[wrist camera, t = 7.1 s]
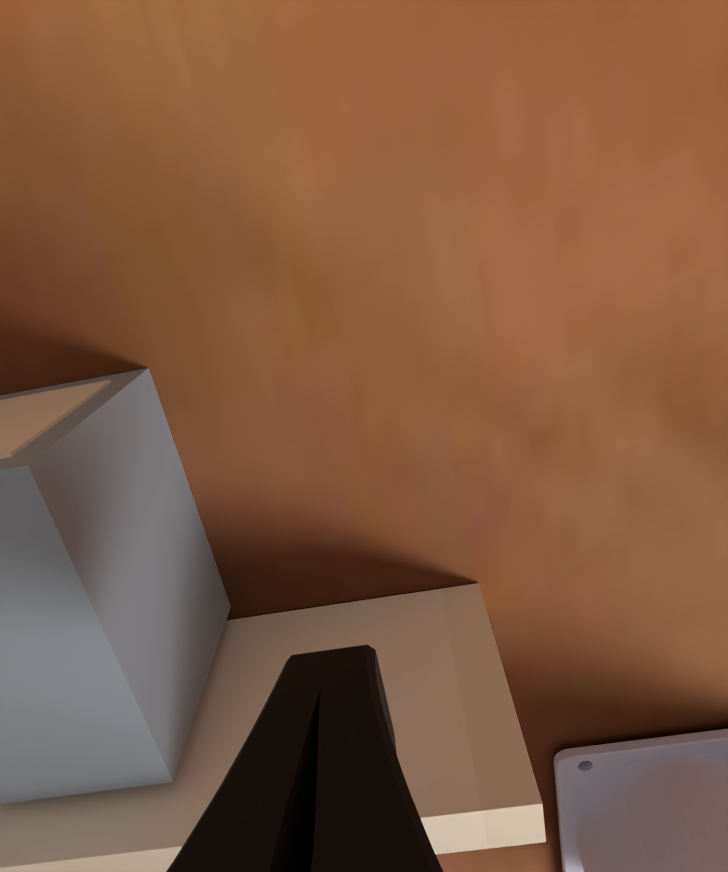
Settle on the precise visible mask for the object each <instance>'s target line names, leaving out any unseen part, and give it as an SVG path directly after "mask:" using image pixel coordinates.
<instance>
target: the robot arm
mask: <svg viewBox="0 0 728 872" xmlns="http://www.w3.org/2000/svg"><path fill="white" fill-rule="evenodd" d="M554 771H555V784H556V796H557V809H558V821H559V834H560V846H561V859H562V871H563V872H728V729H721V730H713V731H705V732H697V733H689V734H681V735H673V736H665V737H657V738H649V739H641V740H633V741H625V742H617V743H609V744H601V745H593V746H585V747H577V748H569V749H564V750H561V751H560V752H558V753H557V754H556V755H555V757H554ZM166 872H443V870H442V868H441V866H440V864H439V861H438V859H437V857H436V855H435V852H434V850H433V848H432V845H431V843H430V841H429V838H428V836H427V834H426V831H425V829H424V826H423V824H422V821H421V819H420V816H419V814H418V811H417V809H416V806H415V804H414V801H413V799H412V796H411V794H410V791H409V788H408V785H407V783H406V780H405V777H404V775H403V772H402V769H401V766H400V763H399V760H398V757H397V752H396V743H395V734H394V729H393V725H392V720H391V716H390V711H389V707H388V703H387V698H386V694H385V689H384V685H383V680H382V676H381V672H380V667H379V663H378V658H377V654H376V650H375V649H374V648H372V647H371V646H369V645H360V646H353V647H346V648H339V649H331V650H324V651H317V652H310V653H303V654H295V655H291V656H290V658H289V659H288V660H287V661H286V663H285V665H284V667H283V669H282V671H281V673H280V675H279V677H278V679H277V681H276V683H275V685H274V687H273V689H272V691H271V693H270V695H269V697H268V699H267V701H266V703H265V705H264V707H263V709H262V711H261V713H260V715H259V717H258V719H257V720H256V722H255V724H254V726H253V728H252V730H251V732H250V734H249V736H248V737H247V739H246V741H245V743H244V744H243V746H242V748H241V750H240V752H239V753H238V755H237V757H236V759H235V760H234V762H233V764H232V766H231V767H230V769H229V771H228V773H227V775H226V776H225V778H224V780H223V782H222V783H221V785H220V787H219V788H218V790H217V792H216V794H215V795H214V797H213V799H212V800H211V802H210V803H209V805H208V807H207V808H206V810H205V811H204V813H203V815H202V816H201V818H200V819H199V821H198V823H197V824H196V826H195V827H194V829H193V831H192V832H191V834H190V835H189V837H188V839H187V840H186V842H185V843H184V845H183V847H182V848H181V850H180V851H179V853H178V855H177V856H176V858H175V859H174V861H173V862H172V864H171V865H170V867H169V868H168V870H167V871H166Z"/></svg>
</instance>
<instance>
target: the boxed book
mask: <svg viewBox="0 0 728 872" xmlns="http://www.w3.org/2000/svg"><path fill="white" fill-rule="evenodd" d="M230 608H231V606H230V603H229V600H228V597H227V594H226V591H225V588H224V585H223V583H222V580H221V577H220V574H219V571H218V568H217V565H216V562H215V559H214V556H213V553H212V551H211V548H210V545H209V542H208V539H207V536H206V533H205V530H204V527H203V524H202V521H201V519H200V516H199V513H198V510H197V507H196V504H195V501H194V498H193V495H192V492H191V490H190V487H189V484H188V481H187V478H186V475H185V472H184V469H183V466H182V463H181V460H180V458H179V455H178V452H177V449H176V446H175V443H174V440H173V437H172V434H171V431H170V428H169V426H168V423H167V420H166V417H165V414H164V411H163V408H162V405H161V402H160V399H159V396H158V394H157V391H156V388H155V385H154V382H153V379H152V376H151V373H150V370H149V368H146V369H140V370H135V371H130V372H124V373H119V374H113V375H108V376H103V377H97V378H92V379H86V380H81V381H76V382H70V383H65V384H59V385H54V386H48V387H43V388H38V389H32V390H27V391H21V392H16V393H11V394H5V395H0V804H5V803H13V802H21V801H28V800H36V799H44V798H52V797H60V796H68V795H75V794H83V793H91V792H99V791H107V790H114V789H122V788H130V787H138V786H146V785H154V784H161V783H169V782H174V779H175V776H176V772H177V769H178V766H179V763H180V760H181V757H182V754H183V751H184V748H185V745H186V742H187V739H188V736H189V733H190V730H191V727H192V724H193V721H194V717H195V714H196V711H197V708H198V705H199V702H200V699H201V696H202V693H203V690H204V687H205V684H206V681H207V678H208V675H209V672H210V669H211V666H212V662H213V659H214V656H215V653H216V650H217V647H218V644H219V641H220V638H221V635H222V632H223V629H224V626H225V623H226V620H227V617H228V614H229V611H230Z"/></svg>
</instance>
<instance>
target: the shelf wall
mask: <svg viewBox="0 0 728 872" xmlns="http://www.w3.org/2000/svg"><path fill="white" fill-rule="evenodd" d="M360 645H369V646H371V647H372V648H374V649H375V650H376V654H377V658H378V663H379V667H380V672H381V676H382V680H383V685H384V689H385V694H386V698H387V703H388V707H389V711H390V716H391V720H392V725H393V729H394V734H395V743H396V752H397V757H398V760H399V763H400V766H401V769H402V772H403V775H404V777H405V780H406V783H407V785H408V788H409V791H410V794H411V796H412V799H413V801H414V804H415V806H416V809H417V811H418V814H419V816H420V819H421V821H422V824H423V826H424V829H425V831H426V834H427V836H428V838H429V841H430V843H431V845H432V848H433V850H434V852H435V855H436V854H445V853H453V852H462V851H471V850H480V849H489V848H497V847H506V846H515V845H524V844H533V843H541V842H546V835H545V825H544V814H543V804H542V800H541V797H540V793H539V790H538V786H537V783H536V779H535V776H534V773H533V769H532V766H531V762H530V759H529V755H528V752H527V748H526V745H525V741H524V738H523V735H522V731H521V728H520V724H519V721H518V717H517V714H516V710H515V707H514V703H513V700H512V697H511V693H510V690H509V686H508V683H507V679H506V676H505V672H504V669H503V665H502V662H501V659H500V655H499V652H498V648H497V645H496V641H495V638H494V634H493V631H492V627H491V624H490V621H489V617H488V614H487V610H486V607H485V603H484V600H483V596H482V593H481V589H480V586H479V583H476V584H469V585H463V586H456V587H449V588H442V589H436V590H429V591H422V592H415V593H408V594H402V595H395V596H388V597H381V598H375V599H368V600H361V601H354V602H348V603H341V604H334V605H327V606H321V607H314V608H307V609H300V610H293V611H287V612H280V613H273V614H266V615H260V616H253V617H246V618H239V619H233V620H226V623H225V626H224V629H223V632H222V635H221V638H220V641H219V644H218V647H217V650H216V653H215V656H214V659H213V662H212V666H211V669H210V672H209V675H208V678H207V681H206V684H205V687H204V690H203V693H202V696H201V699H200V702H199V705H198V708H197V711H196V714H195V717H194V721H193V724H192V727H191V730H190V733H189V736H188V739H187V742H186V745H185V748H184V751H183V754H182V757H181V760H180V763H179V766H178V769H177V772H176V776H175V779H174V782H169V783H161V784H154V785H146V786H138V787H130V788H122V789H114V790H107V791H99V792H91V793H83V794H75V795H68V796H60V797H52V798H44V799H36V800H28V801H21V802H13V803H5V804H0V872H166V871H167V870H168V868H169V867H170V865H171V864H172V862H173V861H174V859H175V858H176V856H177V855H178V853H179V851H180V850H181V848H182V847H183V845H184V843H185V842H186V840H187V839H188V837H189V835H190V834H191V832H192V831H193V829H194V827H195V826H196V824H197V823H198V821H199V819H200V818H201V816H202V815H203V813H204V811H205V810H206V808H207V807H208V805H209V803H210V802H211V800H212V799H213V797H214V795H215V794H216V792H217V790H218V788H219V787H220V785H221V783H222V782H223V780H224V778H225V776H226V775H227V773H228V771H229V769H230V767H231V766H232V764H233V762H234V760H235V759H236V757H237V755H238V753H239V752H240V750H241V748H242V746H243V744H244V743H245V741H246V739H247V737H248V736H249V734H250V732H251V730H252V728H253V726H254V724H255V722H256V720H257V719H258V717H259V715H260V713H261V711H262V709H263V707H264V705H265V703H266V701H267V699H268V697H269V695H270V693H271V691H272V689H273V687H274V685H275V683H276V681H277V679H278V677H279V675H280V673H281V671H282V669H283V667H284V665H285V663H286V661H287V660H288V659H289V658H290V656H291V655H295V654H303V653H310V652H317V651H324V650H331V649H339V648H346V647H353V646H360Z"/></svg>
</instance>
